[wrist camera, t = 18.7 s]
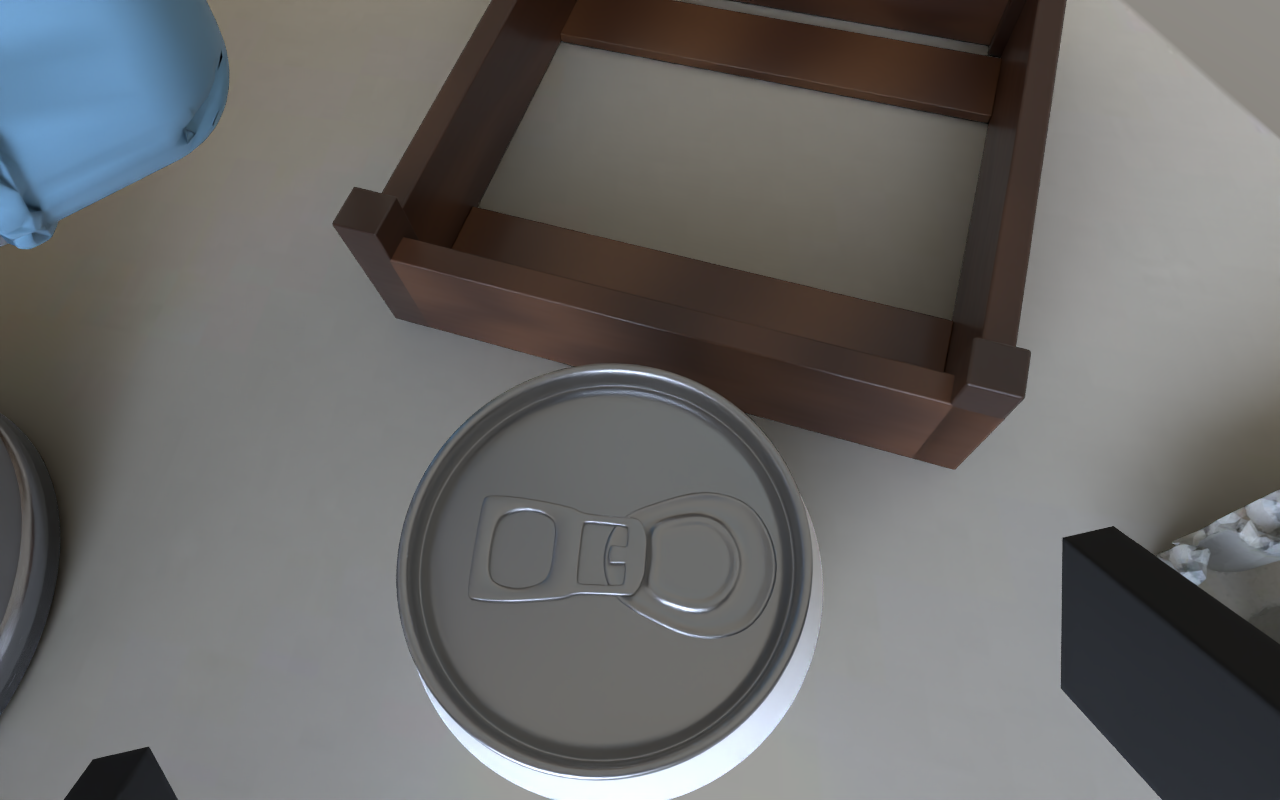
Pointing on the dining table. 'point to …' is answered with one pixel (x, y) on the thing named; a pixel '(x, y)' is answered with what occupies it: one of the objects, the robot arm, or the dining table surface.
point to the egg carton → (1237, 562)
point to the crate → (716, 295)
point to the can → (610, 584)
